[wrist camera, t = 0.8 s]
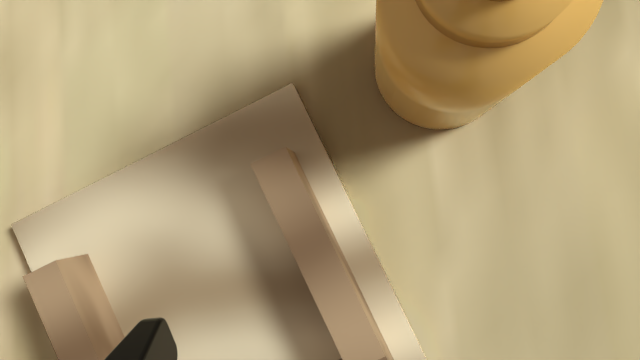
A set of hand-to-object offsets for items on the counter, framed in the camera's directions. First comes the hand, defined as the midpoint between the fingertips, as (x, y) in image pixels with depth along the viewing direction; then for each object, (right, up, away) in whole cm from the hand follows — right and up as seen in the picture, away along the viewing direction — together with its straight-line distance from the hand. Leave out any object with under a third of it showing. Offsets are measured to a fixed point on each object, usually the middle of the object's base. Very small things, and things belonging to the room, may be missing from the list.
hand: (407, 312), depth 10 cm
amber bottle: (+3, +7, +13) cm, 15 cm away
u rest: (-6, -3, +13) cm, 15 cm away
